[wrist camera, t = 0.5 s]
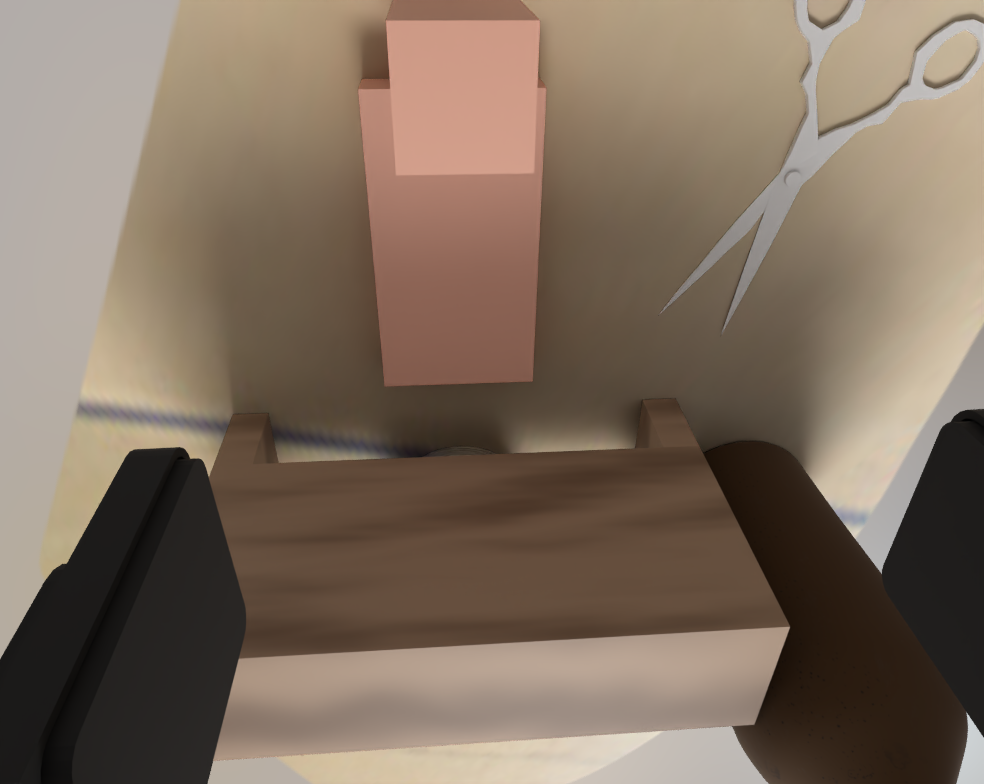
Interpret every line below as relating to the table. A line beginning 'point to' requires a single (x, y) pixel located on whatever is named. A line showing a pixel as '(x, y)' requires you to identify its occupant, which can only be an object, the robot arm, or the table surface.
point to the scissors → (823, 137)
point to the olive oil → (834, 644)
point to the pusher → (456, 190)
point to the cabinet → (488, 595)
